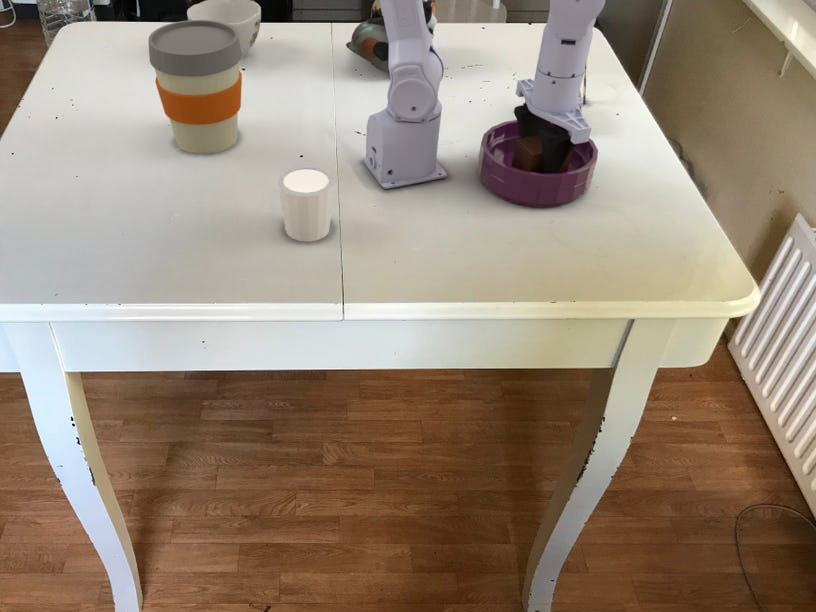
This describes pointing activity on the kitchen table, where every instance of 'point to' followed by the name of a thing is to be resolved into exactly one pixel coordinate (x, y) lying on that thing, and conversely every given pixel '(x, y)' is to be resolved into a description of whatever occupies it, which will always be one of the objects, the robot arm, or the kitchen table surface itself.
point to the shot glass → (306, 202)
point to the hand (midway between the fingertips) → (539, 167)
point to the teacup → (231, 18)
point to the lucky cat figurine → (382, 36)
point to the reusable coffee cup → (199, 82)
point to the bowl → (529, 184)
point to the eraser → (532, 155)
